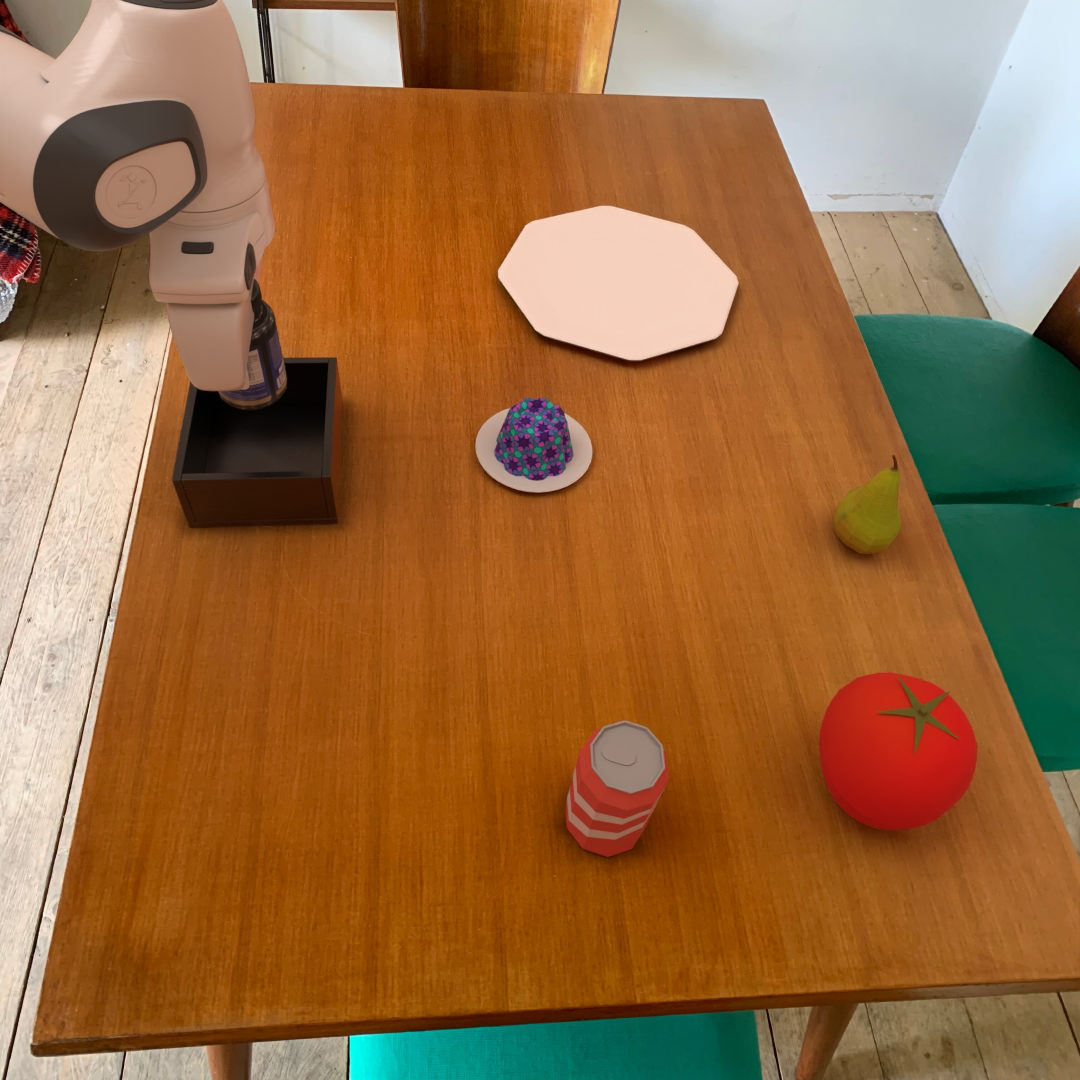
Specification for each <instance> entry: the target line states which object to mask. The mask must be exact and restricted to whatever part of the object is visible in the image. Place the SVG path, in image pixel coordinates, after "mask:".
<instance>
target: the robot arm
mask: <svg viewBox="0 0 1080 1080" xmlns="http://www.w3.org/2000/svg"><path fill="white" fill-rule="evenodd" d="M254 102H255V101H254V97H253V92H252V86H251V81H250V76H249V71H248V67H247V62H246V59H245V55H244V50H243V48H242V44H241V41H240V37H239V35H238V31H237V28H236V26H235V23H234V20H233V18H232V16H231V13H230V12H229V9H228V7H227V6H226V4H225V2H224V1H223V0H91V3H90V6H89V10H88V12H87V13H86V16H85V17H84V20H83V22H82V24H81V26H80V28H79V29H78V31H77V32H76V34H75V36H74V37H73V38H72V40H71V41H70V43H69V44H68V45H67V46H66V48H65V49H64V50H63V51H62V52H61V53H60V54H59V55H58V56H57V57H56V58H54V57H53V56H52V55H51V56H50V55H48V54H47V53H45V52H43V51H42V50H41V49H40V50H39V49H37V48H36V47H35V46H34V45H33V44H31V43H29V42H28V41H26V40H25V39H24V38H22V37H20V36H19V35H17V34H16V33H14V32H13V31H12V30H10V29H8V28H6V27H5V26H3V25H1V24H0V203H1V204H2V205H3V206H6V207H7V208H8V209H10V210H12V211H13V212H15V213H16V214H17V215H19V216H21V217H23V218H24V219H26V220H27V221H28V222H30V223H32V224H33V225H35V226H36V227H38V228H40V229H41V230H43V231H45V232H47V233H48V234H50V235H52V236H53V237H55V238H57V239H58V240H61V241H62V242H64V243H65V244H67V245H69V246H72V247H73V248H76V249H79V250H82V251H89V252H109V251H114V250H118V249H121V248H124V247H126V246H129V245H131V244H134V243H135V242H137V241H139V240H140V239H142V238H144V237H145V236H147V235H149V262H148V263H149V264H148V271H149V273H148V282H149V286H150V290H151V293H152V296H153V298H154V300H155V301H156V302H158V303H166V305H165V306H166V314H167V320H168V324H169V329H170V332H171V334H172V338H173V341H174V344H175V346H176V349H177V351H178V354H179V357H180V360H181V362H182V365H183V367H184V370H185V372H186V375H187V377H188V379H189V382H190V381H191V383H192V384H193V385H194V386H195V387H197V388H198V389H200V390H204V391H236V390H246V389H248V388H249V384H250V377H251V373H250V370H249V364H248V356H249V349H250V342H251V335H252V329H253V322H254V312H253V310H252V305H251V296H252V289H253V282H254V279H255V280H256V281H257V282H258V284H259V285H260V283H261V282H260V280H261V275H262V274H261V273H262V268H263V260H264V255H265V254H264V253H265V251H266V249H267V248H268V247H269V245H271V243H272V241H273V239H274V237H275V235H276V222H275V217H274V211H273V207H272V206H273V205H272V200H271V195H270V189H269V182H268V177H267V171H266V166H265V163H264V160H263V158H262V156H261V154H260V152H259V150H258V149H257V146H256V141H255V130H256V129H255V128H256V122H257V121H256V120H257V119H256V118H257V116H256V108H255V103H254Z"/></svg>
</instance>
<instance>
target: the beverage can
mask: <svg viewBox="0 0 1080 1080" xmlns="http://www.w3.org/2000/svg"><path fill="white" fill-rule="evenodd" d="M669 780H670V777H669V768H668V760H667V751H665V750H664V745H663V743H661V741H660V740H659V739H658V738H657V737H656V736H655V734H654V733H653V732H652V731H651V730H650V728H649V727H647V726H644V725H641V724H638V723H634V722H631V721H627V720H626V719H625V720H621V721H617V722H613V723H611V724H610V723H609V724H608V725H603V726H602V728H599V729H595V730H594V731H593V732H592V733H591V735H590V737H588V739H587V741H586V742H585V743H584V745H583V746H582V748H580V750H579V753H578V756H577V760H576V764H575V767H574V770H573V775H572V779H571V781H570V785H569V789H568V793H567V797H566V800H565V820H566V822H565V823H566V829H567V830H568V831H569V833H570V834H571V836H572V837H573V838H574V839H575V841H576V842H577V844H578V845H579V846H580V847H581V849H583V850H585V851H588V852H591V853H594V854H598V855H600V856H604V857H607V858H610V857H612V856H615V855H618V854H621V853H624V852H627V851H630V850H632V849H634V846H635V845H636V843H637V842H638V840H639V839H640V837H641V835H642V834H643V832H644V830H645V829H646V827H647V825H648V823H649V821H650V820H651V817H652V815H653V813H654V811H655V809H656V807H657V805H658V803H659V801H660V799H661V796H662V794H663V792H664V790H665V788H666V786H667V784H668V782H669Z"/></svg>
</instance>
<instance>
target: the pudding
mask: <svg viewBox="0 0 1080 1080" xmlns="http://www.w3.org/2000/svg"><path fill="white" fill-rule="evenodd" d="M474 444H475V446H474V448H475V455H476V457H477V460H478V462H479V464H480V465H481V467H482V468H483V470H484V471H485V472H486V473H487V474H488V475H489V476H490V477H491V478H492V479H494V480H496V481H497V482H498V483H500V484H502V485H504V486H506V487H509V488H511V489H515V490H517V491H522V492H528V493H549V492H553V491H559V490H562V489H563V488H566V487H568V486H570V485H572V484H574V483H576V482H577V481H578V480H579V479H580V478H582V477H583V475H584V474H586V472H587V471H588V470H589V467H590V465H591V463H592V459H593V445H592V441H591V438H590V436H589V434H588V432H587V431H586V429H585V428H584V427H583V426H582V425H581V423H579V422H578V421H577V419H575V418H573V417H571V416H570V415H569V414H567V413H565V412H564V410H563V408H562V407H561V406H560V405H558V404H556V403H552V402H551V400H550V399H548V398H544V397H543V398H542V397H539V398H536V399H535V398H532V397H526V398H523V399H521V400H520V402H519V403H515V404H514V405H512V406H511V407H508V408H506V409H503V410H501V411H499V412H497V413H495V414H493V415H492V416H491V417H489V418H488V419H486V421H485V422H484V423H483V424H482V425H481V427H480V429H479V430H478V432H477V435H476V438H475V443H474Z"/></svg>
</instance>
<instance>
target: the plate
mask: <svg viewBox="0 0 1080 1080" xmlns="http://www.w3.org/2000/svg"><path fill="white" fill-rule="evenodd" d="M497 279H498V281H499V282H500V284H501V285H502V286H503V288H504V289H505V291H506V292H507V294H508V295H509V297H510V298H511V299H512V301H513V302H514V303H515V305H516V306H517V308H518V309H519V311H520V312H521V314H522V315H523V316H524V317H525V319H526V320H527V322H528V323H529V325H530V326H531V327H532V329H533V330H534V332H535V333H537V334H538V335H540V336H542V337H543V338H546V339H549V340H553V341H557V342H560V343H564V344H567V345H571V346H573V347H578V348H581V349H583V350H588V351H591V352H595V353H598V354H602V355H604V356H605V355H606V356H609V357H612V358H616V359H619V360H623V361H626V362H644V361H648V360H651V359H653V358H657V357H660V356H664V355H667V354H671V353H674V352H675V353H676V352H678V351H682V350H686V349H689V348H693V347H695V346H699V345H702V344H706V343H709V342H712V341H715V340H717V339H718V338H719V337H721V336H722V335H723V332H724V329H725V325H726V323H727V319H728V317H729V313H730V311H731V307H732V305H733V303H734V302H733V301H734V298H735V296H736V293H737V290H738V287H739V284H740V282H739V279H738V276H737V275H736V274H735V273H734V272H733V271H732V270H731V269H730V268H729V266H728V265H726V263H725V262H724V261H723V260H722V259H721V258H720V257H719V255H717V254H716V252H715V251H714V250H713V249H712V248H711V247H710V246H709V245H708V244H707V243H706V241H704V239H702V237H701V236H700V235H699V234H698V233H697V232H696V231H695V229H692V228H690V227H689V226H687V225H686V224H681V223H677V222H675V221H671V220H667V219H662V218H659V217H655V216H652V215H651V216H650V215H648V214H644V213H640V212H636V211H631V210H628V209H625V208H622V207H621V208H620V207H617V206H613V205H599V206H594V207H593V206H592V207H589V208H585V209H580V210H576V211H571V212H566V213H562V214H558V215H553V216H549V217H545V218H540V219H535V220H532V221H530V222H529V223H527V224H526V225H524V226H523V229H522V230H521V232H520V233H519V235H518V237H517V238H516V240H515V242H514V243H513V245H512V246H511V248H510V250H509V251H508V253H507V255H506V257H505V258H504V260H503V262H502V263H501V264H500V266H499V268H498V269H497Z"/></svg>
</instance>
